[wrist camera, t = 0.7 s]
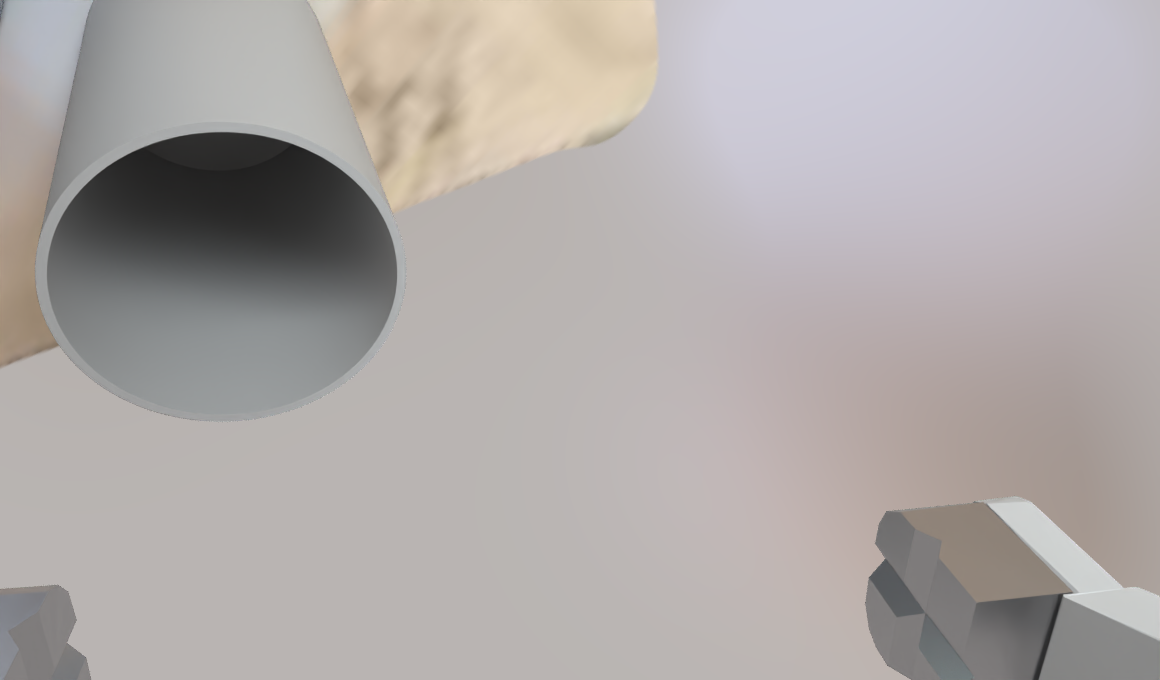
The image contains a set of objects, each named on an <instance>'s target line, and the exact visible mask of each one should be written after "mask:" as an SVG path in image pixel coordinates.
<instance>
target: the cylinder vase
mask: <svg viewBox="0 0 1160 680" xmlns="http://www.w3.org/2000/svg"><path fill="white" fill-rule="evenodd" d="M35 282H36V290H37V296H38V300H39V304H40V308H41V311H42V314H43V316H44V319H45V321H46V324H47V326H48V328H49V330H50V331H51V333H52V335H53V337H54V338H55V340H56V342H57V343H58V345H59V346H60V347H61V349H62V350H63V351H64V353H65V354H66V355H67V356H68V357H69V359H70V360H71V361H72V362H73V363H74V364H75V365H76V366H77V367H78V368H79V369H80V370H81V371H82V372H84V373H85V374H86V375H87V376H88V377H89V378H91V379H92V380H93V381H95V382H96V383H97V384H99V385H100V386H101V387H103V388H104V389H106V390H108V391H109V392H111V393H113V394H114V395H116V396H118V397H120V398H122V399H124V400H126V401H129V402H130V403H133V404H135V405H137V406H140V407H142V408H145V409H148V410H151V411H154V412H157V413H161V414H165V415H169V416H173V417H178V418H184V419H191V420H200V421H242V420H251V419H258V418H263V417H268V416H273V415H277V414H280V413H284V412H287V411H290V410H294V409H296V408H299V407H302V406H304V405H307V404H309V403H311V402H313V401H315V400H318V399H320V398H322V397H323V396H325V395H327V394H329V393H330V392H332V391H334V390H335V389H337V388H339V387H340V386H341V385H343V384H344V383H346V382H347V381H348V380H350V379H351V378H352V377H353V376H355V375H356V374H357V373H358V372H359V371H360V370H361V369H362V368H363V367H364V366H365V365H366V364H367V363H368V362H369V361H370V360H371V359H372V358H373V357H374V356H375V354H376V353H377V352H378V351H379V349H380V348H381V347H382V345H383V344H384V342H385V341H386V339H387V337H388V336H389V334H390V332H391V330H392V328H393V326H394V324H395V322H396V320H397V317H398V315H399V312H400V309H401V306H402V302H403V298H404V292H405V286H406V258H405V251H404V246H403V242H402V239H401V235H400V232H399V229H398V226H397V224H396V221H395V219H394V216H393V213H392V211H391V208H390V205H389V203H388V200H387V198H386V195H385V192H384V190H383V187H382V185H381V182H380V180H379V177H378V174H377V172H376V169H375V167H374V164H373V161H372V159H371V156H370V154H369V151H368V148H367V146H366V143H365V141H364V138H363V135H362V133H361V130H360V128H359V125H358V122H357V120H356V117H355V115H354V112H353V109H352V107H351V104H350V102H349V99H348V96H347V94H346V91H345V89H344V86H343V83H342V81H341V78H340V76H339V73H338V70H337V68H336V65H335V63H334V60H333V58H332V55H331V52H330V50H329V47H328V45H327V42H326V39H325V37H324V34H323V32H322V29H321V26H320V24H319V21H318V19H317V17H316V15H315V13H314V11H313V9H312V8H311V6H310V4H309V3H308V1H307V0H93V3H92V5H91V8H90V10H89V14H88V17H87V21H86V26H85V31H84V35H83V40H82V44H81V49H80V54H79V58H78V63H77V67H76V72H75V77H74V81H73V86H72V91H71V95H70V100H69V104H68V109H67V114H66V118H65V123H64V127H63V132H62V137H61V141H60V146H59V150H58V155H57V160H56V164H55V169H54V173H53V178H52V183H51V187H50V192H49V197H48V201H47V206H46V210H45V215H44V220H43V224H42V229H41V233H40V238H39V243H38V247H37V253H36V261H35Z"/></svg>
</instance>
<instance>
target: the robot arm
mask: <svg viewBox="0 0 1160 680" xmlns="http://www.w3.org/2000/svg"><path fill="white" fill-rule="evenodd" d="M875 544H876V545H877V547H878V548H879V550H880V551H881V553H882V554H883V556H884V557H885V560H884V561H883V562H882V564H881V565H880V566H879V567H878V568H877V569H876V570H875V571H874V572H873V574H872V575H871V576H870V577H869V581H868V588H867V595H866V602H865V603H866V611H867V618H868V625H869V630H870V633H871V635H872V638H873V641H874V643H875V646H876V648H877V649H878V651H879V653H880V654H881V656H882V658H883V659H884V661H885V662H886V664H887V666H889V667H891V668H893V669H894V670H896V671H898V672H899V673H901V674H903V675H904V676H906V677H908V678H909V679H911V680H1160V596H1158V595H1155V594H1153V593H1151V592H1148V591H1146V590H1143V589H1141V588H1138V587H1132V588H1123V587H1122V586H1121V585H1120V584H1119V583H1118V582H1116V580H1114V579H1113V578H1112V577H1111V576H1110V575H1109V574H1108V573H1107V572H1106V571H1105V570H1104V569H1103V568H1102V567H1100V566H1099V565H1098V564H1097V563H1096V562H1095V561H1094V560H1093V559H1092V558H1091V557H1090V556H1089V555H1088V554H1087V553H1085V552H1084V551H1083V550H1082V549H1081V548H1080V547H1079V546H1078V545H1077V544H1076V543H1075V542H1074V541H1073V540H1071V539H1070V538H1069V537H1068V536H1067V535H1066V534H1065V533H1064V532H1063V531H1062V530H1061V529H1059V528H1058V527H1057V526H1056V525H1055V524H1054V523H1053V522H1052V521H1051V520H1050V519H1049V518H1048V517H1047V516H1046V515H1045V514H1044V513H1042V512H1041V511H1040V510H1039V509H1038V508H1037V507H1036V506H1035V505H1034V504H1033V503H1032V502H1030V501H1028V500H1025V499H1023V498H1020V497H1018V496H1014V497H1006V498H998V499H990V500H980V501H974V502H973V503H968V504H957V505H947V506H936V507H927V508H916V509H905V510H894V511H886V513H885V515H884V516H883V518H882V520H881V521H880V523H879V527H878V532H877V537H876V542H875ZM75 623H76V616H75V613H74V609H73V606H72V603H71V600H70V596H69V593H68V591H66V590H65V589H64V588H62V587H61V586H59V585H49V586H34V587H20V588H6V589H0V680H91V676H90V673H89V668H88V663H87V659H86V657H85V656H83V655H82V654H81V653H80V652H78V651H77V650H76V649H74V648H73V647H72V646H70V645H69V644H68V643H67V641H68V639H69V636H70V634H71V632H72V629H73V627H74V625H75Z"/></svg>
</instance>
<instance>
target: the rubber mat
mask: <svg viewBox="0 0 1160 680" xmlns="http://www.w3.org/2000/svg"><path fill="white" fill-rule="evenodd" d="M3 3H4V0H0V18H1V13H2V8H3Z"/></svg>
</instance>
